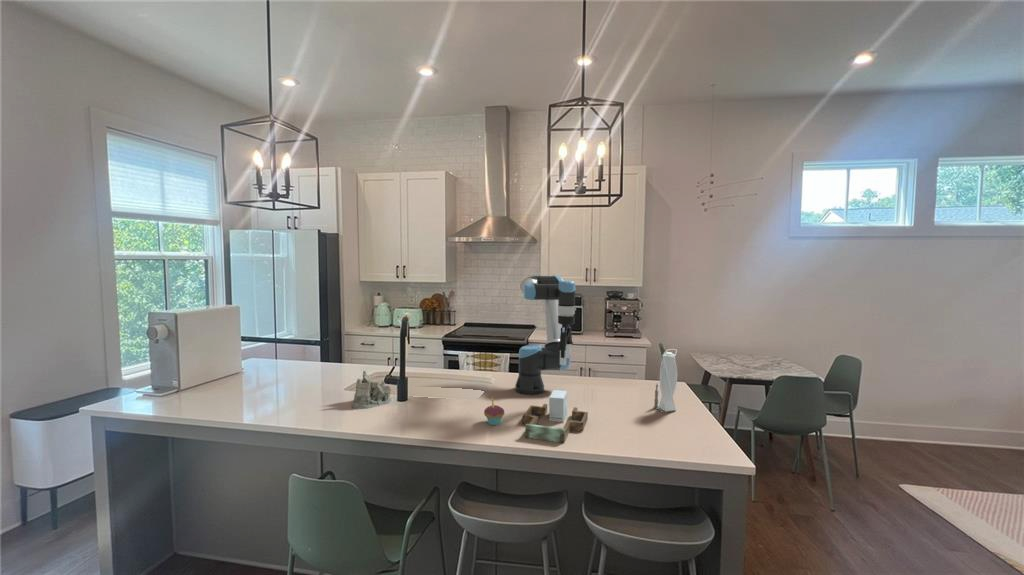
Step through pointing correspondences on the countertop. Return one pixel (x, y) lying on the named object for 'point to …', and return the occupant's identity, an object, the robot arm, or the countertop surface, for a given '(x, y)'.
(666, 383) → the skyscraper
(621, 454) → the countertop surface
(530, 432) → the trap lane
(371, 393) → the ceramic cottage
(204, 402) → the countertop surface
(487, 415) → the cupcake
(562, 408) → the skincare box
